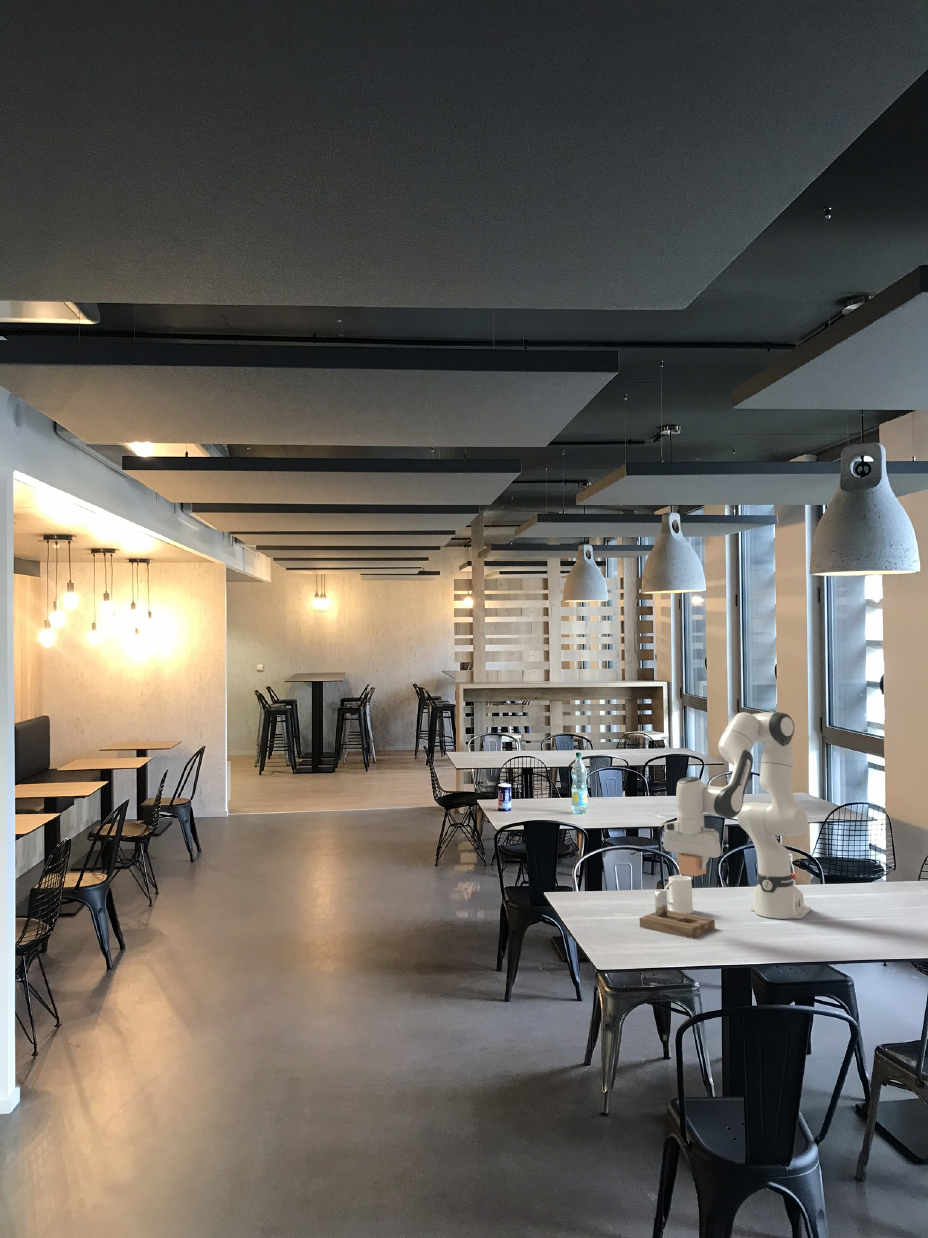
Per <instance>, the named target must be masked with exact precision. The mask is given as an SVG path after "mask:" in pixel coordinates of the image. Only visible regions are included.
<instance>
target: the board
mask: <svg viewBox="0 0 928 1238" xmlns="http://www.w3.org/2000/svg"><path fill="white" fill-rule="evenodd" d="M667 911H668V916H667V917H658V916H656V911H655V912H652V913H649V914H646V915H644V916H640V917H639V927H640V928H643V927H644V928H643V929H648V928H649V930H654V931H658V932H662V931H663V932H662V933H667V934H671V933H672V934H671V935H675V934H677V935H676V936H680V935H681V936H680V937H684V936H686V938H689V937H693V938H695V936H696V937H698V936H700V935H702V933H703V934H705V933H708V932H709V931H712V930H714V929H716V920H715V918H710V917H705V916H699V915H695V914H691V913H690V914H685V913H680V912H675V911H670V910H669V909H667ZM707 931H708V932H707ZM699 934H700V935H699Z"/></svg>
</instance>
